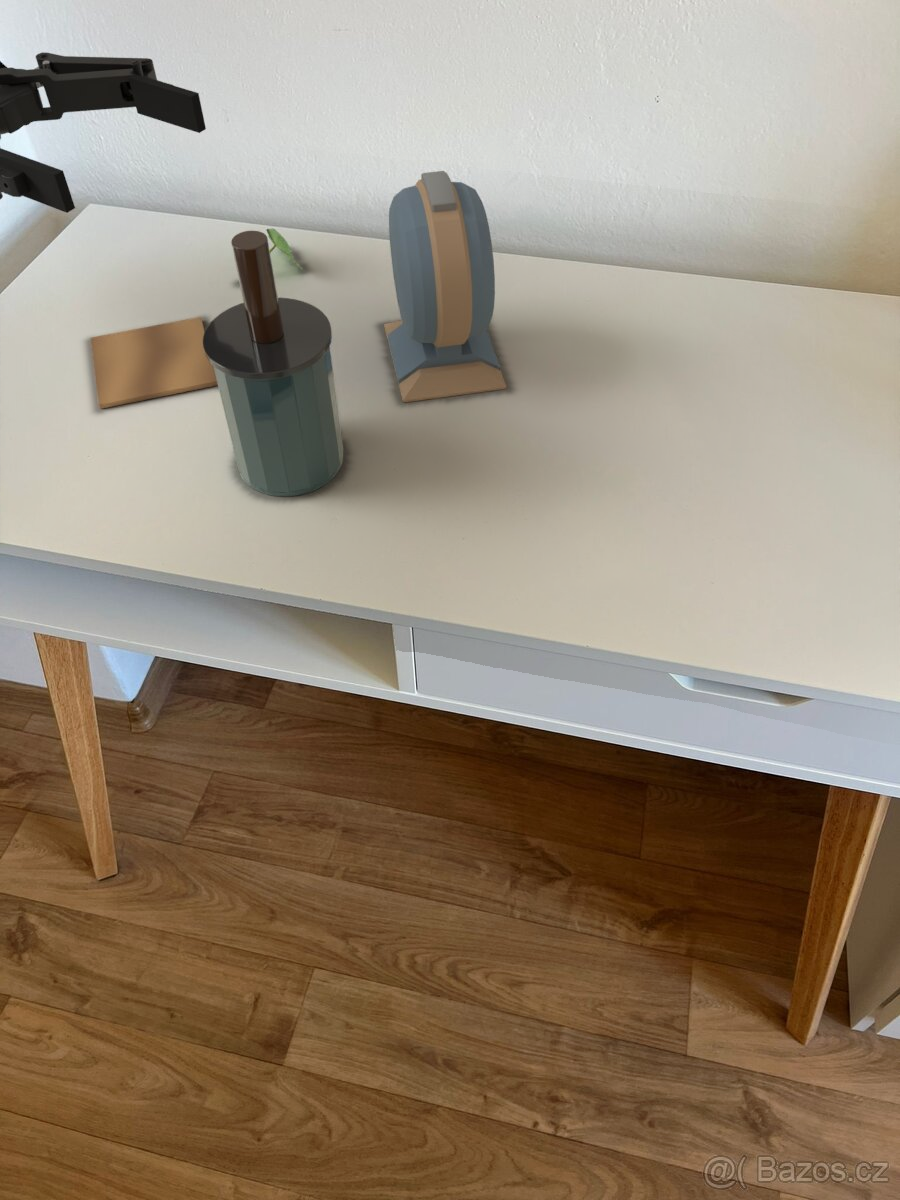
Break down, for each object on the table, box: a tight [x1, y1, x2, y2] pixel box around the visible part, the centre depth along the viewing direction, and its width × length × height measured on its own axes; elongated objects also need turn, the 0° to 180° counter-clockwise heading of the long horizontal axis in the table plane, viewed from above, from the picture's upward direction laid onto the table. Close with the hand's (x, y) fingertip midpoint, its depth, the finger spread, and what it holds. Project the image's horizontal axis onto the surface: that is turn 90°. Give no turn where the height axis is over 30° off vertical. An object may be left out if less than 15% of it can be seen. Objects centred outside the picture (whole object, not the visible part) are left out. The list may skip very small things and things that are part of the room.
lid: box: [203, 230, 333, 380], centre depth 76 cm, size 10×10×9 cm
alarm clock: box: [383, 170, 507, 403], centre depth 91 cm, size 14×10×18 cm
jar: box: [213, 346, 344, 497], centre depth 83 cm, size 9×9×12 cm
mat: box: [90, 316, 218, 410], centre depth 97 cm, size 11×11×1 cm
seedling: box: [238, 214, 303, 285], centre depth 106 cm, size 7×8×6 cm
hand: (135, 150), depth 73 cm, fingers open, 13 cm apart
